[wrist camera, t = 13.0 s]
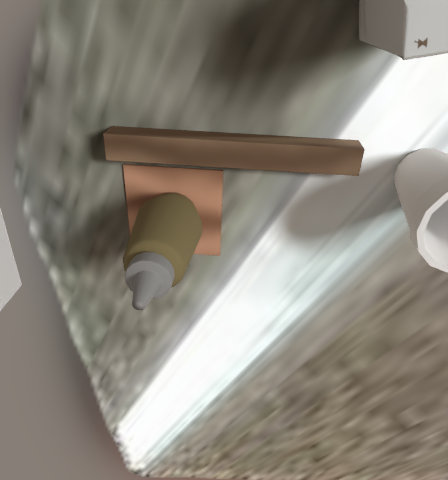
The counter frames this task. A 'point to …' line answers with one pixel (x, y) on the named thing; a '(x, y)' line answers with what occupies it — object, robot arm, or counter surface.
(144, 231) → the squeeze bottle
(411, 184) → the foam cup
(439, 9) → the skincare box
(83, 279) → the counter surface
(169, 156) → the rail
